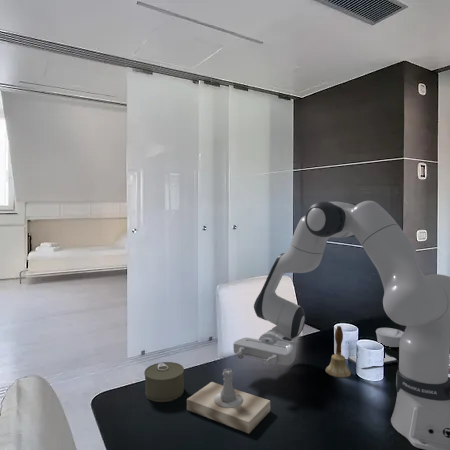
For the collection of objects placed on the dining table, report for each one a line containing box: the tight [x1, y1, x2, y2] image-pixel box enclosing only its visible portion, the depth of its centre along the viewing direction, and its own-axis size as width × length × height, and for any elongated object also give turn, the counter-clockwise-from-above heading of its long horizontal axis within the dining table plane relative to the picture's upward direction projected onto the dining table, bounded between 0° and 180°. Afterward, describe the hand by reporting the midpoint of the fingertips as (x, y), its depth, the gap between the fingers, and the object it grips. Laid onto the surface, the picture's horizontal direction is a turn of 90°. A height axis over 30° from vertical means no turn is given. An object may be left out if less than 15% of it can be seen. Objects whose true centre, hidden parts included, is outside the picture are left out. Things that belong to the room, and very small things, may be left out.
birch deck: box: [186, 381, 271, 435], centre depth 102 cm, size 20×12×3 cm, turn 57°
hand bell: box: [325, 325, 352, 378], centre depth 125 cm, size 8×8×16 cm
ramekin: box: [375, 327, 404, 347], centre depth 149 cm, size 11×11×5 cm
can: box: [144, 361, 185, 403], centre depth 112 cm, size 12×12×7 cm
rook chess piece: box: [220, 368, 236, 402], centre depth 102 cm, size 4×4×8 cm
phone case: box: [347, 352, 398, 366], centre depth 133 cm, size 9×2×16 cm
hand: (251, 359), depth 112 cm, fingers open, 8 cm apart
